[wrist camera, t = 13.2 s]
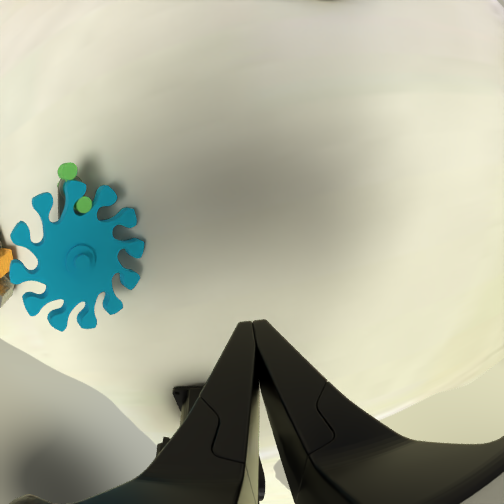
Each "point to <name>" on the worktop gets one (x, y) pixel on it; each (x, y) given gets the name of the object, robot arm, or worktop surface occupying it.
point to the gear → (75, 252)
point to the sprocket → (3, 288)
